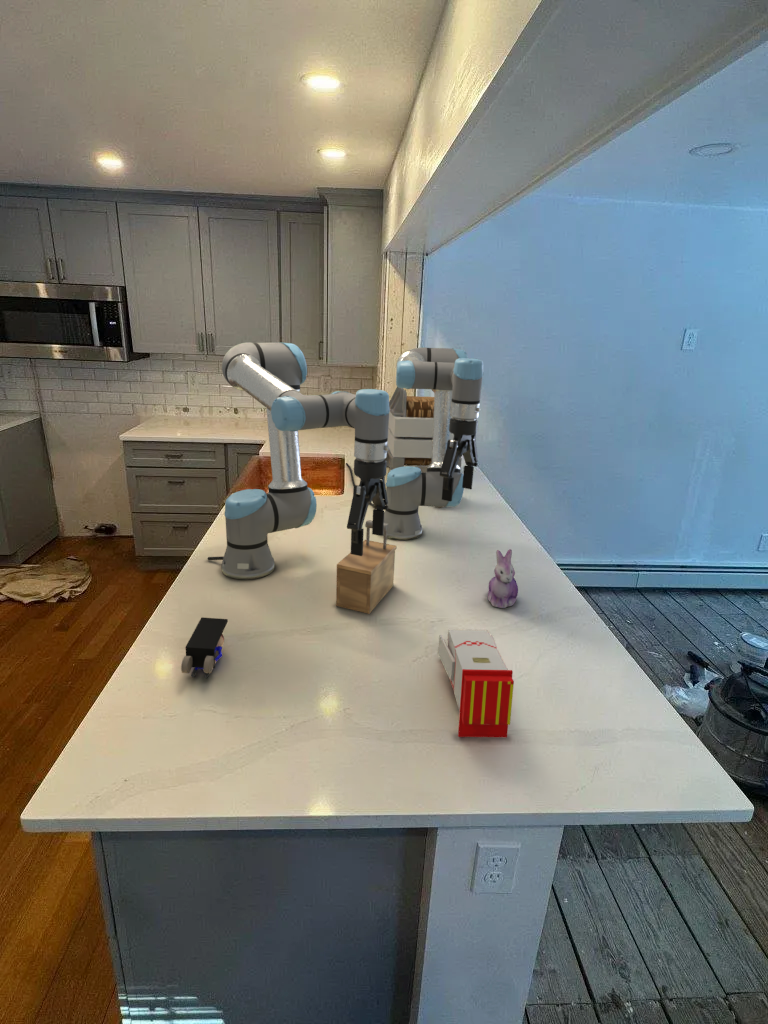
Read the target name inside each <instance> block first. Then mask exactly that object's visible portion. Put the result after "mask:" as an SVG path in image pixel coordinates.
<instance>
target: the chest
mask: <svg viewBox="0 0 768 1024" xmlns="http://www.w3.org/2000/svg"><path fill="white" fill-rule="evenodd" d="M395 558H396V550H395V551H394V552H393V553H392V554H391V555H390V556H389V557H388V558H387V559H386V560H385V561H384V562H383V563H382V564H381V565H380V566H379V567H378V568H377V569H376V570H375V571H374V572H373V573H372V574H371V575H368V574H364V573H359V572H354V571H350V570H345V569H341V568H337V567H336V592H335V593H336V594H335V606H336V607H339V608H343V609H346V610H347V609H348V610H352V611H355V612H358V613H359V612H360V613H364V614H368V615H370V614H371V613H372V611H374V609H375V608H376V607H377V606H378V605H379V603H381V601H382V600H383V598H384V597H385V596H386V595H387V594H388V593H389V592H390V590H391V589H392V588H393V587H394V578H395V577H394V576H395V560H396V559H395Z"/></svg>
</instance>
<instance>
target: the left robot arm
mask: <svg viewBox="0 0 768 1024" xmlns="http://www.w3.org/2000/svg"><path fill="white" fill-rule="evenodd" d="M221 371H222V375H223V378H224V379H225V381H226V382H227V384H228V385H230V386H231V387H233V388H234V389H235V390H237V391H242V392H245V393H247V394H248V395H249V396H251V397H252V398H253V399H255V400H256V401H257V402H258V403H259V404H261V405H262V406H264V407H265V408H266V409H265V410H266V420H267V429H268V443H269V450H270V451H269V453H270V465H271V466H270V467H271V476H272V477H271V479H272V480H271V481H270V483H268V485H267V490H268V491H267V492H266V491H265V490H264V489H259V488H253V489H251V488H247V489H241V490H238V491H236V492H233V493H232V494H230V495H229V496H228V497H227V498H226V499H225V502H224V517H225V519H224V520H225V534H226V536H225V537H226V548H225V551H224V555H223V556H208V557H207V560H208V561H221V572H222V573H223V575H225V576H227V577H228V578H230V579H231V578H232V579H234V580H254V579H255V580H256V579H261V578H263V577H266V576H268V575H270V574H272V573H273V572H274V570H275V568H276V567H275V559H274V557H273V554H272V551H271V548H270V546H269V543H268V540H269V539H268V534H271V533H277V532H282V531H287V530H292V529H300V528H301V527H305V526H309V525H310V524H311V523H312V522H313V521H314V520H315V517H316V513H317V498H316V496H315V492H314V491H313V488H311V487H309V486H308V482H307V481H306V480H305V479H303V477H302V464H301V450H300V437H299V431H305V430H315V429H316V430H317V429H326V428H335V427H336V428H339V427H349V428H351V429H354V442H353V443H354V444H353V445H354V447H353V456H354V458H355V459H354V460H353V474H354V476H356V477H357V478H359V484H358V485H357V484H355V485H354V486H353V491H352V492H353V494H352V499H351V504H350V509H349V514H348V520H347V524H346V529H348V530H351V531H350V552H351V554H353V555H358V556H362V555H363V541H364V530H365V529H364V528H363V525H364V522H365V520H366V515H367V512H368V509H369V505H370V503H372V504H374V507H375V508H374V507H373V509H372V521H373V525H372V528H371V534H372V535H373V536H374V535H375V536H380V537H384V536H383V528H384V512H385V510H388V506H386V505H387V504H388V499H387V493H386V487H387V486H386V478H385V477H386V476H387V469H388V468H387V461H386V460H385V458H386V457H387V451H388V450H389V447H388V446H387V442H388V425H389V412H390V408H389V401H390V394H389V393H388V392H387V391H386V390H383V389H376V388H362V389H358V390H357V391H356V393H355V394H354V393H352V392H348V391H340V390H336V391H333V392H331V393H327V394H312V395H311V394H309V395H308V394H307V395H305V394H303V393H301V385H302V384H304V383H305V382H306V380H307V375H308V365H307V361H306V358H305V355H304V353H303V351H302V350H301V349H300V347H299V346H298V345H297V344H294V343H291V342H282V341H279V342H242V343H238V344H236V345H233V346H232V347H231V348H229V350H228V351H227V352H226V353H225V354H224V357H223V359H222V362H221Z"/></svg>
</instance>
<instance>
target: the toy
mask: <svg viewBox="0 0 768 1024" xmlns="http://www.w3.org/2000/svg"><path fill="white" fill-rule="evenodd" d="M446 640H447V643H446V641H445V639H444V636H443V635H442V634H439V637H438V646H437V656H438V657H439V659H440V661H441V663H442V666H443V668H444V670H445V672H446V674H447V677H448V679H449V681H450V684H451V687H452V690H453V693H454V697H455V701H456V705H457V708H458V711H459V714H458V715H459V716H458V730H457V731H458V732H457V737H458V738H508V731H509V726H510V725H511V717H512V707H513V697H514V696H513V695H514V684H515V680H514V679H513V673H514V671H513V670H512V669H508V667H507V665H506V662H505V661H504V659H503V658H502V655H501V653H500V651H499V649H498V647H497V643H496V639H495V637H494V635H493V634H491V632H490V631H489V629H467V628H466V629H465V628H463V629H461V628H460V629H459V628H448V630H447V639H446Z"/></svg>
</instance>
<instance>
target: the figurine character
mask: <svg viewBox="0 0 768 1024" xmlns="http://www.w3.org/2000/svg"><path fill="white" fill-rule="evenodd" d="M228 622H229V619H228V618H217V617H216V618H215V617H203V616H202V617H200V619H199V621H198V623H197V625H196V626H195V628H194V630H193V632H192V634H191V636H190V638H189V639H188V642H187V643H186V645H185V647H184V648H185V655H184V656H183V658H182V662H181V666H180V667H181V668H180V670H181V673H182V674H190V673H191V678H195V677H196V675H197V672H198V670H203V673H204V674H205V675H204V677H205V679H207V678H208V677H209V675H210V674H212V673H213V670H215V669H216V663H217V662H218V661H219V660H220V659H221V658H223V652H222V650H223V645H224V644H225V635H224V634H223V633H224V630H225V628H226V626H227V624H228ZM216 652H218V655H216ZM192 668H193V670H192ZM191 670H192V672H191Z"/></svg>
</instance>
